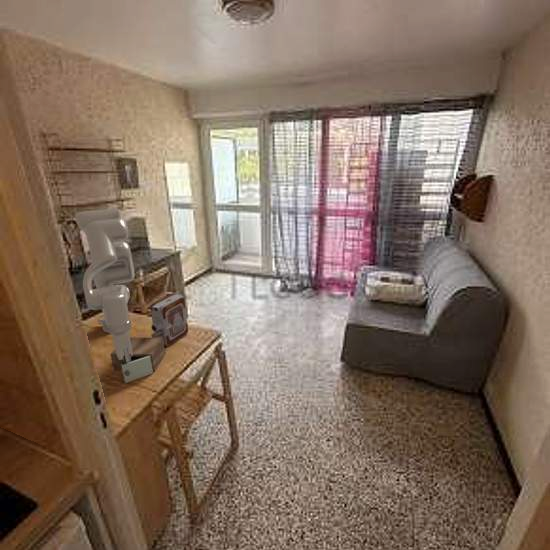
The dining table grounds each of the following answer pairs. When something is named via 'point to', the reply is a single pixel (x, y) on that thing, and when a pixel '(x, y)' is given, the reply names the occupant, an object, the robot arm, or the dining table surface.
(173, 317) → the cine camera
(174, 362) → the dining table surface
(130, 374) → the case door
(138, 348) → the camera case
